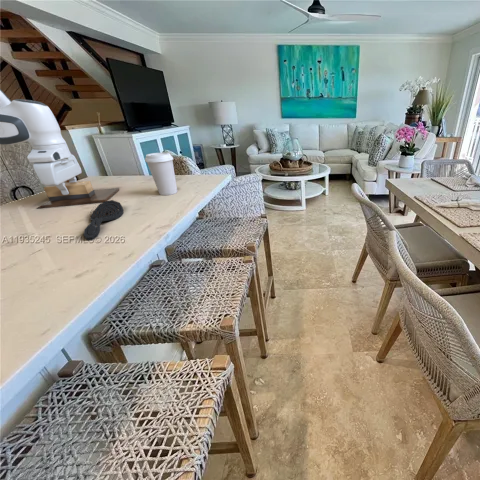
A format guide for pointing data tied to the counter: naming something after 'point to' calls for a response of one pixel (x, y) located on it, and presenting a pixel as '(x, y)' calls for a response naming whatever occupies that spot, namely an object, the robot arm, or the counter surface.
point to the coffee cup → (162, 172)
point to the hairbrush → (102, 217)
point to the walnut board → (83, 199)
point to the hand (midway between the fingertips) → (70, 191)
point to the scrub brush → (70, 191)
